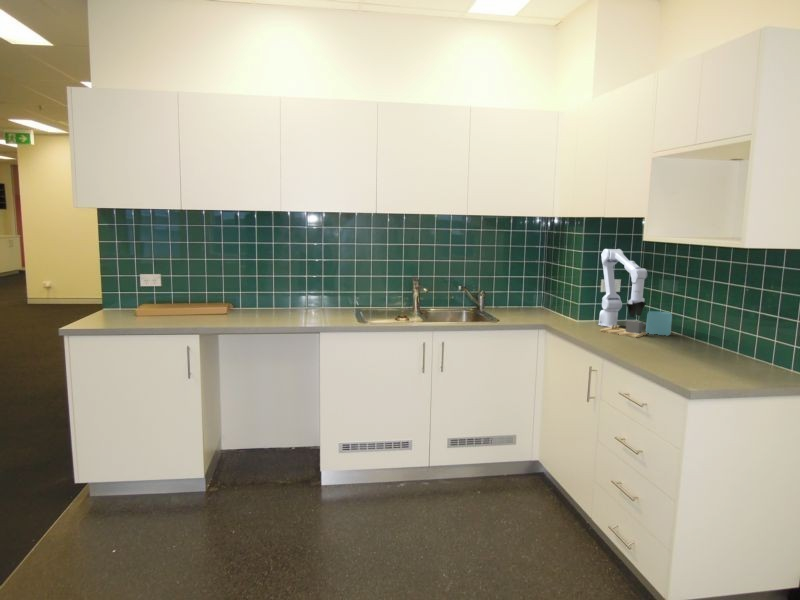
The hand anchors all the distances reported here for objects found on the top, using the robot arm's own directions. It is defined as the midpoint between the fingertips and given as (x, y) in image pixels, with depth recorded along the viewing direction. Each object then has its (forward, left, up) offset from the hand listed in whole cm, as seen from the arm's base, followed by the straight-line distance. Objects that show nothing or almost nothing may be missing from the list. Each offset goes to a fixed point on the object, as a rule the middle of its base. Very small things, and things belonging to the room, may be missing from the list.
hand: (635, 316), depth 292 cm
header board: (-4, -4, -9) cm, 11 cm away
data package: (+9, +9, -10) cm, 16 cm away
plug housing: (+1, -3, -8) cm, 9 cm away
